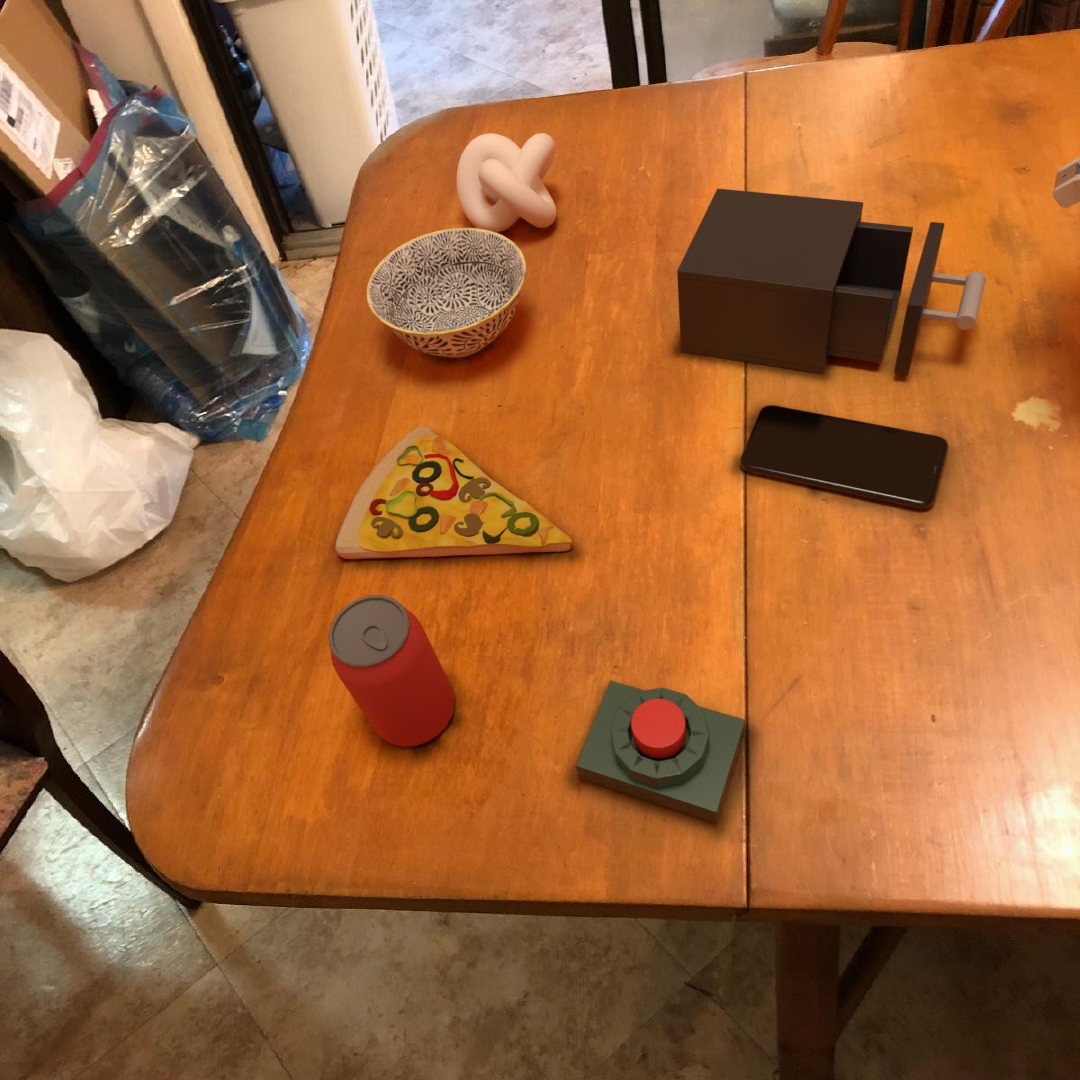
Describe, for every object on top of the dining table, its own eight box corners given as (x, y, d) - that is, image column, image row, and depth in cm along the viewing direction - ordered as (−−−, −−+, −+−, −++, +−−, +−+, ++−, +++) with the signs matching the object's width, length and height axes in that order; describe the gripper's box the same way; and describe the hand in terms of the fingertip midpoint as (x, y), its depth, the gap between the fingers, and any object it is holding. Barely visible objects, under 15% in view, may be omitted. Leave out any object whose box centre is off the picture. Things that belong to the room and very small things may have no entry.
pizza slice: (412, 431, 90) (404, 409, 88) (609, 484, 82) (606, 461, 80) (324, 555, 82) (313, 535, 80) (532, 626, 75) (526, 605, 72)
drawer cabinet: (852, 287, 93) (863, 202, 85) (823, 374, 86) (832, 290, 79) (717, 270, 97) (717, 188, 90) (680, 351, 91) (676, 270, 83)
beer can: (403, 767, 69) (353, 691, 60) (357, 708, 73) (302, 628, 63) (473, 711, 71) (435, 629, 62) (425, 656, 75) (381, 571, 65)
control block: (744, 733, 67) (746, 707, 64) (716, 824, 63) (716, 802, 60) (612, 694, 70) (607, 667, 67) (579, 778, 67) (572, 755, 63)
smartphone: (736, 472, 81) (931, 514, 75) (736, 465, 80) (933, 507, 74) (762, 408, 85) (949, 443, 79) (762, 401, 84) (951, 436, 78)
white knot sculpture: (455, 252, 106) (436, 181, 99) (474, 189, 113) (458, 119, 106) (553, 248, 104) (540, 175, 97) (566, 184, 111) (556, 112, 104)
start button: (693, 718, 64) (692, 707, 63) (676, 765, 62) (675, 754, 61) (642, 703, 65) (641, 692, 64) (625, 749, 64) (623, 738, 62)
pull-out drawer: (979, 299, 88) (998, 228, 81) (960, 383, 82) (980, 313, 76) (797, 277, 93) (802, 208, 87) (767, 353, 88) (771, 286, 82)
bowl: (569, 316, 97) (559, 255, 91) (467, 412, 91) (449, 353, 85) (457, 269, 104) (441, 210, 98) (356, 355, 98) (333, 298, 92)
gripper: (1245, -42, 65) (1049, 87, 76) (1246, 123, 54) (1018, 244, 65) (1290, 27, 67) (1092, 143, 78) (1299, 199, 56) (1070, 304, 67)
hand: (1058, 190), depth 71 cm, fingers closed
